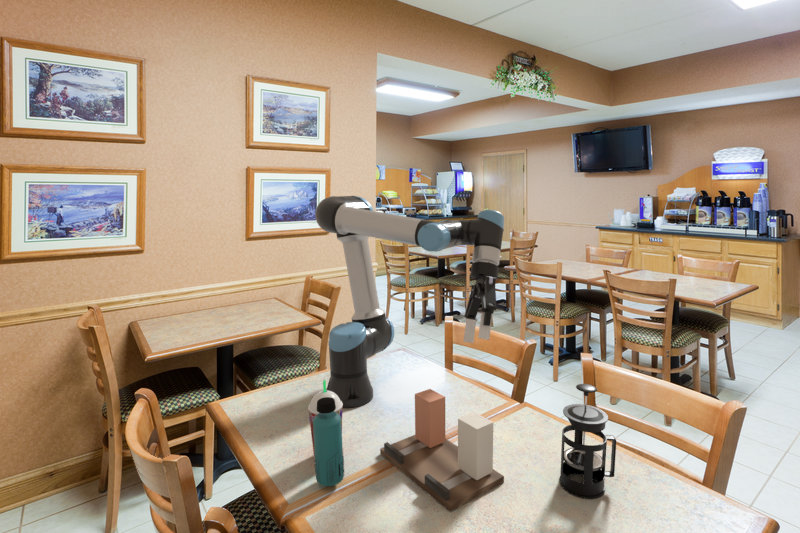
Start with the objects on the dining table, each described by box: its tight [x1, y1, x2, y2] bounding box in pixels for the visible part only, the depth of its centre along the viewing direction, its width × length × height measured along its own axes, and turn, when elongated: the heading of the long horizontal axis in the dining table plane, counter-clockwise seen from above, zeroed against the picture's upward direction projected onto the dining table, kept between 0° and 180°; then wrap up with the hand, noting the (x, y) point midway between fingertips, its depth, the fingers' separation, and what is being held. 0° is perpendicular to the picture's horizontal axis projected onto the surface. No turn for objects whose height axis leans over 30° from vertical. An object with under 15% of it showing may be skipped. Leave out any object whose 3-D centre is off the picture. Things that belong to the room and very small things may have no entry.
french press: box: [558, 383, 617, 500], centre depth 97 cm, size 12×9×23 cm
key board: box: [379, 434, 505, 513], centre depth 106 cm, size 16×26×4 cm, turn 35°
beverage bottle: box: [313, 397, 345, 487], centre depth 99 cm, size 6×7×20 cm
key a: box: [457, 411, 494, 480], centre depth 100 cm, size 5×6×12 cm
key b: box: [414, 388, 446, 448], centre depth 113 cm, size 5×6×12 cm
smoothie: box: [307, 379, 344, 457], centre depth 109 cm, size 8×8×20 cm
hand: (475, 340), depth 119 cm, fingers open, 13 cm apart
